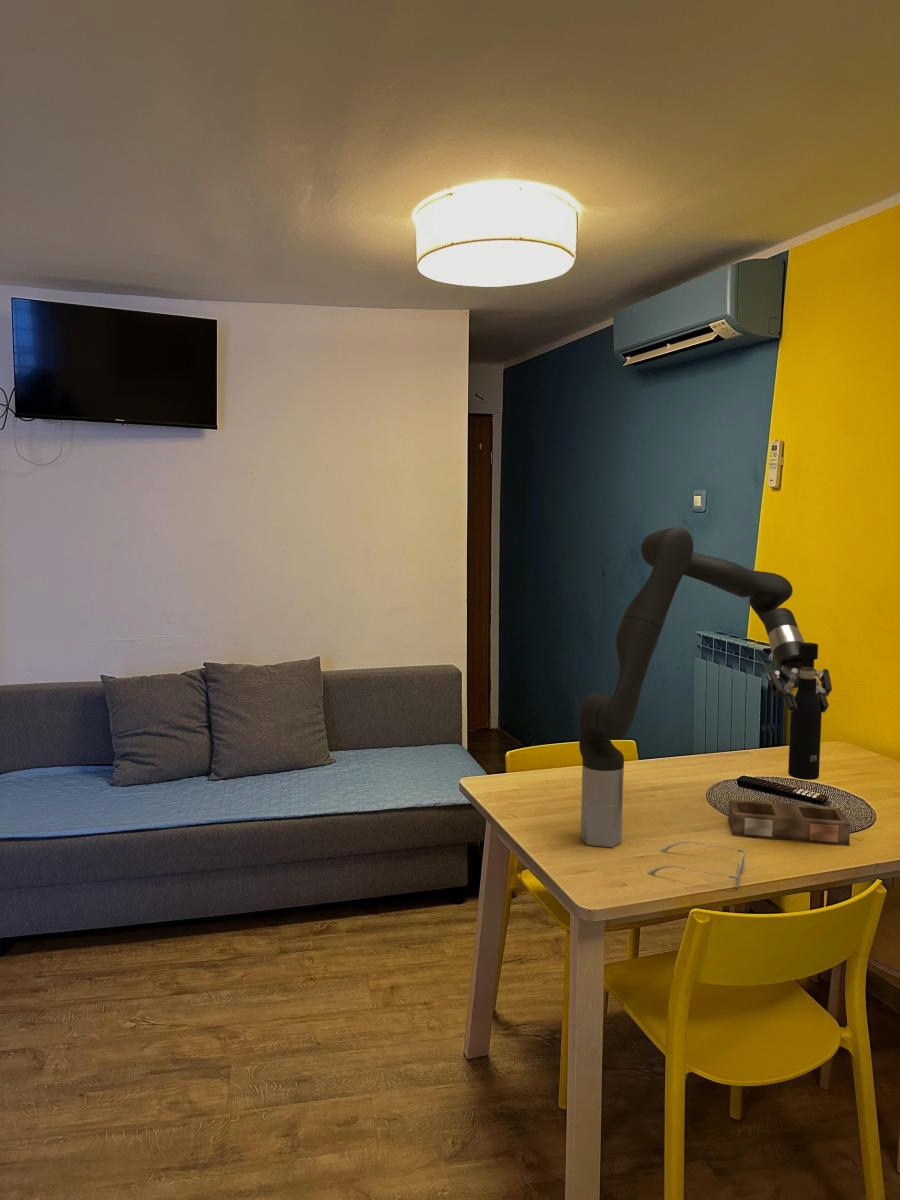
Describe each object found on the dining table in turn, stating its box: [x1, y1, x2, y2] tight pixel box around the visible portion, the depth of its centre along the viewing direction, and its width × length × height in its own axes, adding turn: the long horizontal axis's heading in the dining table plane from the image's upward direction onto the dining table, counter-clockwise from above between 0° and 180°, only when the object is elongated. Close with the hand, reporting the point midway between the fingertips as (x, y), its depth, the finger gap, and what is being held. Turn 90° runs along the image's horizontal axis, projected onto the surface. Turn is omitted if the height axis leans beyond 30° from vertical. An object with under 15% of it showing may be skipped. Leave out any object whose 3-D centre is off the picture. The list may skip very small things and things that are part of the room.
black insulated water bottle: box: [787, 642, 822, 781], centre depth 191 cm, size 6×6×30 cm
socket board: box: [727, 799, 851, 846], centre depth 200 cm, size 25×12×5 cm, turn 77°
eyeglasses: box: [646, 841, 746, 888], centre depth 178 cm, size 15×18×4 cm
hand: (809, 710), depth 190 cm, fingers closed on black insulated water bottle, 6 cm apart
